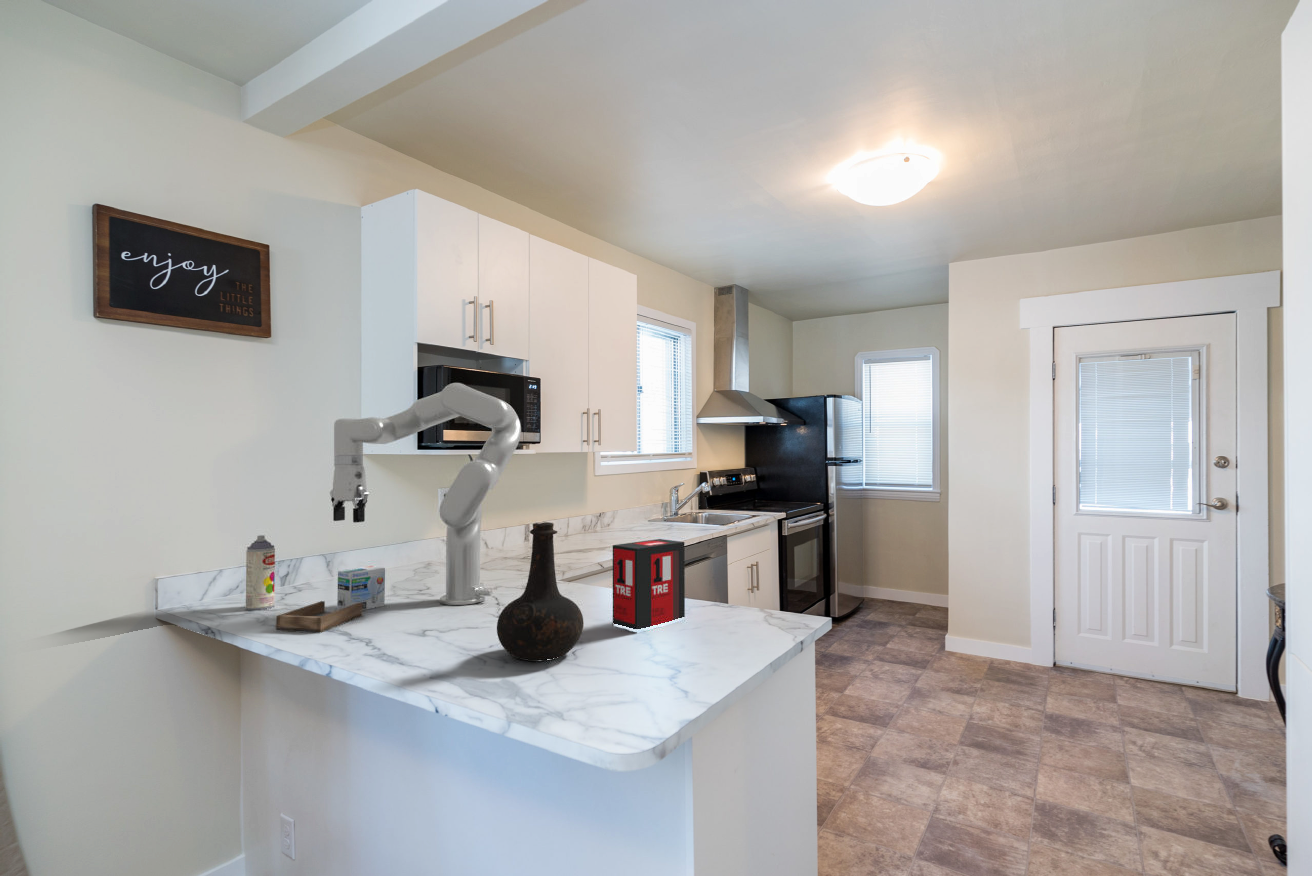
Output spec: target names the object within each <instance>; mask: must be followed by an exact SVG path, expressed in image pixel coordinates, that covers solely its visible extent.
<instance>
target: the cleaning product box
mask: <svg viewBox="0 0 1312 876" xmlns="http://www.w3.org/2000/svg"><path fill="white" fill-rule="evenodd" d="M685 558H686V557H685V542H684V541H679V540H671V539H663V538H656V539H650V540H649V539H648V540H643V541H641V540H640V541H635V542H627V543H626V542H625V543H619V544H618V543H617V544H613V545H612V624H613V623H614V624H618V625H622V626H626V627H629V628H633V629H641V628H646V627H650V626H653V625H658V624H661V623H665V622H669V621H672V620H675V619H678V618H682V617H686V615H685V614H686V607H685V606H686V604H685V603H686V602H685V601H686V600H685V599H686V598H685V594H686V593H685V592H686V591H685V588H686V587H685V584H686V583H685V580H686V579H685V577H686V576H685V575H686V574H685Z"/></svg>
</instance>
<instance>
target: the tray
mask: <svg viewBox="0 0 1312 876" xmlns="http://www.w3.org/2000/svg"><path fill="white" fill-rule="evenodd" d="M325 603H326V602H325V600H322V601H321V600H320V601H317V602H314V603H312V604H308V605H306V606H302V607H298V608H297V609H293V610H290V611H288V612H285V613H284V612H283V613H281V614H279V615H276V616H275V617H276V619H275V620H276V621H275V623H276V625H275V629H276V630H282V632H296V631H306V632H305V633H316V632H321V633H323V632H322V631H324V632H326V631H328V630H327V629H329V630H331V629H333V628H332V627H334V628H336V627H338V626H337V625H339V626H341V625H343V624H342V623H344V624H346V623H349V622H351V621H353V619H354V620H355V618H356V619H358V617H359V618H361V617H363V610H362V603H356V604H354V605H351V606H348V607H345V608H343V609H340V610H337V609H336V610H334V611H325V609H326V605H325ZM350 620H351V621H350ZM348 621H349V622H348ZM345 622H346V623H345ZM340 624H341V625H340ZM335 626H336V627H335ZM330 628H331V629H330ZM325 630H326V631H325Z"/></svg>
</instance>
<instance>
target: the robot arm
mask: <svg viewBox="0 0 1312 876" xmlns="http://www.w3.org/2000/svg"><path fill="white" fill-rule="evenodd" d="M459 417H461V418H465V419H468V420H470V421H472V422H475V423H478V424H480V425H481V426H485V427H487V428H488V429H489V428H490V429H491V434H490V436H489V437H488V438H487V440H486V441H485V442H484V444H483V447H482V449H480V451H479V453H478V455H477V456H476V458H475V459H474V460H471V461H469V462H467V463H466V464H465V465H464V466H463V467H462V468H461V469H460V470H459V472H458V474H457V475H456V476H455V479H454V480H453V482H452V484H451V486H450V487H449V488H448V490H447V492H446V494H445V496H444V497H443V498H442V501H441V503H440V505H439V510H438V512H439V516H440V519H441V521H442V522H443V523H444V524H445V525H446V539H445V540H446V541H445V544H446V545H445V594H444V595H442V596H441V597H440V598H439V599H440V600H439V601H440V603H441V604H442V605H443V604H444V605H450V606H465V605H473V604H478V603H481V602H484V601H485V600H486V596H487V597H492V595H493V589H492V588H491V587H488V588H487V587H486V588H485V587H484V583H481V530H482V528H481V527H482V515H483V513H482V511H483V510H482V503H483V501H484V499H485V498H486V496H487V494H488V493H489V491H491V490H492V489H494V487H496V485H497V484H498V481H499V479H500V478H501V476H502V474H503V472H504V470H505V468H506V467H507V465H508V464H509V462H510V460H511V457H512V456H513V455H514V452H515V450H516V449H517V447H518V444H519V443H520V439H521V436H522V435H521V434H522V426H521V425H522V424H521V421H520V419H519V416H518V414H517V413H516V411H515V409H514V408H513V407H512V406H511V405H510V404H509V403H507V402H506V401H504V400H503V399H499V398H498V397H495V396H492V395H490V394H487V393H484V392H482V391H480V390H477V389H474V388H472V387H470V386H467V385H465V384H464V383H461V382H453V383H450V384H447V385H446V386H444V388H443V389H442V391H439V392H437V393H436V392H435V393H434V394H431V395H429V396H426V397H422V398H420V399H417V400H416V401H414V402H413V403H412V405H411V406H410V407H409V408H407V409H406V410H404V411H402V412H398V413H396V414H393V415H389V416H387V417H384V418H381V417H373V416H372V417H364V418H339V419H336V420H335V421H334V424H333V467H334V471H333V478H332V480H333V482H332V489H331V490H330V491H329V495H330V498H331V499H330V500H331V503H332V504H331V506H332V508H333V509H332V510H333V512H332V513H333V514H332V515H333V518H332V519H333V522H339V521H345V519H346V506H344V505H345V503H346V502H352V505H353V507H354V508H352V522H353V523H364V522H365V514H366V513H365V512H366V511H365V508H366V506H367V505H366V504H367V502H368V497H369V492H368V491H367V478H366V471H365V467H364V456H363V455H364V444H371V445H372V444H374V445H377V444H378V445H387V444H390V443H393V442H396V441H398V440H401V439H404V438H408V437H410V436H412V435H414V434H417V433H418V432H421V431H425V430H427V429H429V428H430V427H433V426H436V425H440V424H442V423H444V422H447V421H449V420H450V421H451V420H452V419H456V418H459Z"/></svg>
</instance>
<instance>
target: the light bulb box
mask: <svg viewBox="0 0 1312 876" xmlns="http://www.w3.org/2000/svg"><path fill="white" fill-rule="evenodd" d="M385 579H386V568H385V567H381V566H374V565H366V566H362V567H356V568H350V569H344V570H343V569H342V570H338V571H337V599H336V600H337V603H336V604H337V605H336V606H337V607H336V611H337V610H340V609H343V608H345V607H348V606H351V605H354V604H356V603H362V611H366V610H370V608H371V609H374V608H375V607H376V608H380V606H381V607H385V599H386V596H385V594H386V587H385V586H386V582H385V581H386V580H385ZM365 609H366V610H365Z"/></svg>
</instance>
